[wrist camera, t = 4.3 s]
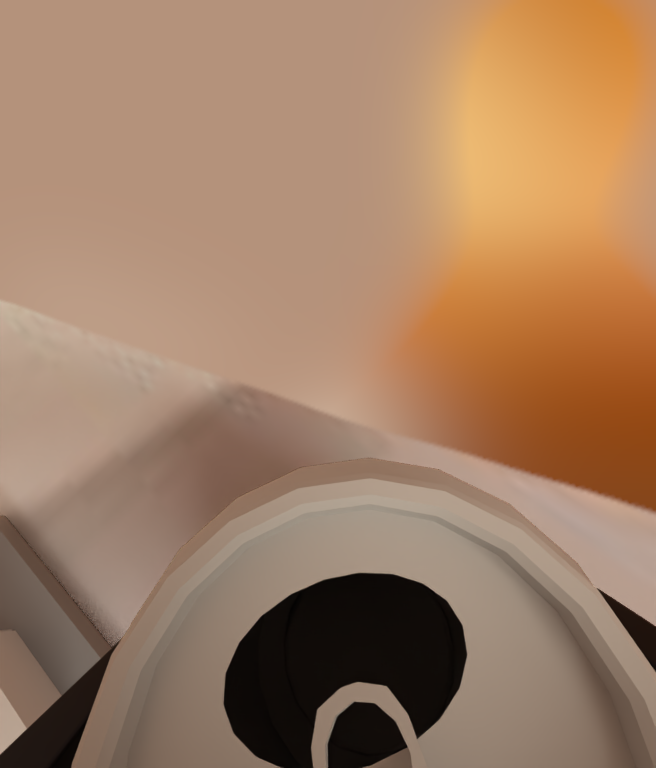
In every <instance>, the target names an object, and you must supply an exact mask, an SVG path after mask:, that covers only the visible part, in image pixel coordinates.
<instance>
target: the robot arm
mask: <svg viewBox="0 0 656 768" xmlns="http://www.w3.org/2000/svg"><path fill="white" fill-rule="evenodd" d="M598 591H599V592H600V594H601V595H602V596H603V598H604V599H605V601H606V602H607V603H608V605H609V606H610V608H611V609H612V611H613V612H614V613H615V615H616V616H617V618H618V619H619V621H620V622H621V623H622V625H623V626H624V628H625V629H626V631H627V632H628V633H629V635H630V636H631V638H632V639H633V640H634V642H635V643H636V645H637V646H638V648H639V649H640V650H641V652H642V653H643V655H644V656H645V658H646V659H647V660H648V662H649V663H650V665H651V666H652V668H653V669H654V670H655V672H656V626H654V625H653V624H651V623H650V622H648V621H647V620H645V619H644V618H642V617H641V616H639V615H638V614H636V613H635V612H633V611H632V610H630V609H628V608H627V607H625V606H624V605H622V604H621V603H619V602H618V601H616V600H615V599H613V598H612V597H610V596H609V595H607V594H606V593H604V592H603V591H601V590H599V589H598ZM120 641H121V639H120V640H119V641H118V642H117V643H116V644H115V645H114V646H113V647H112V648H111V649H110V650H109V651H108V652H107V653H106V654H105V655H104V656H103V657H102V658H101V659H100V660H98V661H97V662H96V663H95V664H94V665H93V666H92V667H91V668H90V669H89V670H88V671H87V672H86V673H85V674H84V675H83V676H82V677H81V678H80V679H79V680H78V681H76V682H75V683H74V684H73V685H72V686H71V687H70V688H69V689H68V690H67V691H66V692H65V693H64V694H63V695H62V696H61V697H60V698H59V699H58V700H57V701H55V702H54V703H53V704H52V705H51V706H50V707H49V708H48V709H47V710H46V711H45V712H44V713H43V714H42V715H41V716H40V717H39V718H38V719H37V720H36V721H35V722H33V723H32V724H31V725H30V726H29V727H28V728H27V729H26V730H25V731H24V732H23V733H22V734H21V735H20V736H19V737H18V738H17V739H16V740H15V741H14V742H13V743H11V744H10V745H9V746H8V747H7V748H6V749H5V750H4V751H3V752H2V753H1V754H0V768H71V766H72V762H73V760H74V757H75V754H76V751H77V748H78V746H79V743H80V740H81V737H82V735H83V732H84V729H85V726H86V724H87V721H88V718H89V715H90V713H91V710H92V707H93V704H94V702H95V699H96V696H97V693H98V691H99V688H100V685H101V682H102V680H103V677H104V674H105V671H106V669H107V666H108V663H109V660H110V657H111V655H112V653H113V652H114V650H115V648H116V647H117V645H118V644H119V642H120Z"/></svg>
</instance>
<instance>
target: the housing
mask: <svg viewBox="0 0 656 768" xmlns="http://www.w3.org/2000/svg"><path fill="white" fill-rule="evenodd" d="M110 649H111V647H110V645H109V644H108V643H107V642H106V641H105V639H104V638H103V637H102V636H101V634H100V633H99V632H98V631H97V629H96V628H95V627H94V626H93V624H92V623H91V622H90V621H89V619H88V618H87V617H86V616H85V614H84V613H83V612H82V611H81V609H80V608H79V607H78V606H77V605H76V603H75V602H74V601H73V600H72V598H71V597H70V596H69V595H68V593H67V592H66V591H65V590H64V588H63V587H62V586H61V585H60V583H59V582H58V581H57V580H56V578H55V577H54V576H53V575H52V573H51V572H50V571H49V570H48V569H47V567H46V566H45V565H44V564H43V562H42V561H41V560H40V559H39V557H38V556H37V555H36V554H35V552H34V551H33V550H32V549H31V547H30V546H29V545H28V544H27V542H26V541H25V540H24V539H23V537H22V536H21V535H20V534H19V533H18V531H17V530H16V529H15V528H14V526H13V525H12V524H11V523H10V521H9V520H8V519H7V518H6V516H1V515H0V754H1V753H2V752H3V751H4V750H5V749H6V748H7V747H8V746H9V745H10V744H11V743H13V742H14V741H15V740H16V739H17V738H18V737H19V736H20V735H21V734H22V733H23V732H24V731H25V730H26V729H27V728H28V727H29V726H30V725H31V724H32V723H33V722H35V721H36V720H37V719H38V718H39V717H40V716H41V715H42V714H43V713H44V712H45V711H46V710H47V709H48V708H49V707H50V706H51V705H52V704H53V703H54V702H55V701H57V700H58V699H59V698H60V697H61V696H62V695H63V694H64V693H65V692H66V691H67V690H68V689H69V688H70V687H71V686H72V685H73V684H74V683H75V682H76V681H78V680H79V679H80V678H81V677H82V676H83V675H84V674H85V673H86V672H87V671H88V670H89V669H90V668H91V667H92V666H93V665H94V664H95V663H96V662H97V661H98V660H100V659H101V658H102V657H103V656H104V655H105V654H106V653H107V652H108V651H109V650H110Z"/></svg>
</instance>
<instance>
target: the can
mask: <svg viewBox="0 0 656 768" xmlns="http://www.w3.org/2000/svg"><path fill="white" fill-rule="evenodd" d="M71 768H656V672H655V670H654V669H653V668H652V666H651V665H650V663H649V662H648V660H647V659H646V658H645V656H644V655H643V653H642V652H641V650H640V649H639V648H638V646H637V645H636V643H635V642H634V640H633V639H632V638H631V636H630V635H629V633H628V632H627V631H626V629H625V628H624V626H623V625H622V623H621V622H620V621H619V619H618V618H617V616H616V615H615V613H614V612H613V611H612V609H611V608H610V606H609V605H608V603H607V602H606V601H605V599H604V598H603V596H602V595H601V594H600V592H599V591H598V589H597V588H595V587H594V586H593V584H592V583H591V582H590V580H589V579H588V577H587V576H586V574H585V573H584V572H583V570H582V569H581V567H580V566H579V564H578V563H577V562H576V561H575V560H574V559H572V558H571V557H570V556H569V555H568V554H567V553H565V552H564V551H563V550H562V549H561V548H560V547H559V546H557V545H556V544H555V543H554V542H553V541H552V540H551V539H549V538H548V537H547V536H546V535H545V534H544V533H543V532H541V531H540V530H539V529H538V528H537V527H536V526H535V525H533V524H532V523H531V522H530V521H529V520H528V519H527V518H525V517H524V516H523V515H522V514H521V513H520V512H518V511H517V510H516V509H515V508H514V507H513V506H512V505H510V504H509V503H507V502H505V501H503V500H501V499H499V498H497V497H495V496H493V495H491V494H489V493H487V492H484V491H482V490H480V489H478V488H476V487H474V486H472V485H470V484H468V483H466V482H464V481H462V480H460V479H458V478H456V477H454V476H452V475H450V474H447V473H445V472H443V471H441V470H439V469H434V468H428V467H422V466H416V465H410V464H404V463H397V462H391V461H385V460H379V459H373V458H364V459H357V460H349V461H342V462H335V463H328V464H321V465H314V466H307V467H301V468H299V469H296V470H294V471H292V472H290V473H288V474H286V475H284V476H282V477H280V478H278V479H275V480H273V481H271V482H269V483H267V484H265V485H263V486H261V487H259V488H257V489H254V490H252V491H250V492H248V493H246V494H244V495H242V496H240V497H238V498H236V499H235V500H234V501H233V502H232V503H231V504H230V505H228V506H227V507H226V508H225V509H224V510H223V511H222V512H221V513H220V514H218V515H217V516H216V517H215V518H214V519H213V520H212V521H211V522H209V523H208V524H207V525H206V526H205V527H204V528H203V529H202V530H201V531H199V532H198V533H197V534H196V535H195V536H194V537H193V538H192V539H190V540H189V541H188V542H187V543H186V544H185V545H184V546H183V547H182V548H180V549H179V551H178V552H177V554H176V555H175V557H174V559H173V560H172V562H171V563H170V565H169V566H168V568H167V569H166V571H165V572H164V574H163V575H162V577H161V578H160V580H159V581H158V583H157V584H156V586H155V588H154V589H153V591H152V592H151V594H150V595H149V597H148V598H147V600H146V601H145V603H144V604H143V606H142V607H141V609H140V610H139V612H138V613H137V615H136V617H135V618H134V620H133V621H132V623H131V625H130V627H129V629H128V630H127V632H126V633H125V635H124V636H123V638H122V639H121V641H120V642H119V644H118V645H117V647H116V648H115V650H114V652H113V653H112V655H111V657H110V660H109V663H108V666H107V669H106V671H105V674H104V677H103V680H102V682H101V685H100V688H99V691H98V693H97V696H96V699H95V702H94V704H93V707H92V710H91V713H90V715H89V718H88V721H87V724H86V726H85V729H84V732H83V735H82V737H81V740H80V743H79V746H78V748H77V751H76V754H75V757H74V760H73V762H72V766H71Z"/></svg>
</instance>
